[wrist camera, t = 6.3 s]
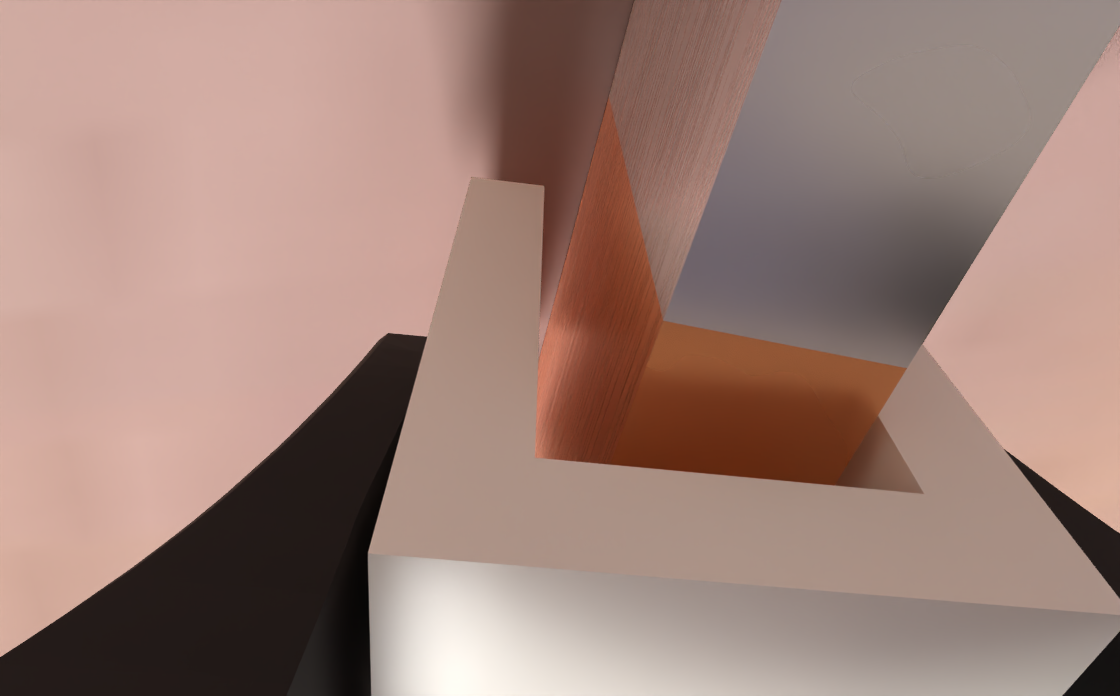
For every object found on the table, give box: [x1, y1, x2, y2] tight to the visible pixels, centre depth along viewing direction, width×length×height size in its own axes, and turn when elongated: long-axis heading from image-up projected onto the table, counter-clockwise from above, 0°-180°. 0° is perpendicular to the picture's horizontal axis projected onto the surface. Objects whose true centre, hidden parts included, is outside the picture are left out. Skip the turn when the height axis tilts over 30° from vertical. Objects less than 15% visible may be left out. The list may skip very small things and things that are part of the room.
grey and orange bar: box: [535, 0, 1120, 486], centre depth 9 cm, size 6×20×6 cm, turn 167°
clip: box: [368, 177, 1120, 696], centre depth 8 cm, size 5×4×6 cm
